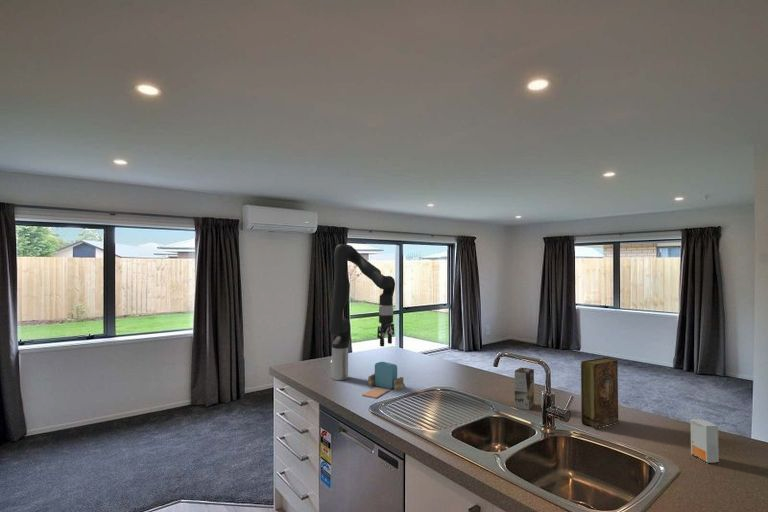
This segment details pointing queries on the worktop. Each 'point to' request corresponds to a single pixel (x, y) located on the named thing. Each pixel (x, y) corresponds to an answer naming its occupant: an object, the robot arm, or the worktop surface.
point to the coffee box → (524, 388)
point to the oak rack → (397, 383)
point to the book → (599, 392)
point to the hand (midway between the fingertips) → (385, 344)
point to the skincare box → (704, 440)
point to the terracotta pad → (375, 392)
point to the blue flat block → (385, 374)
